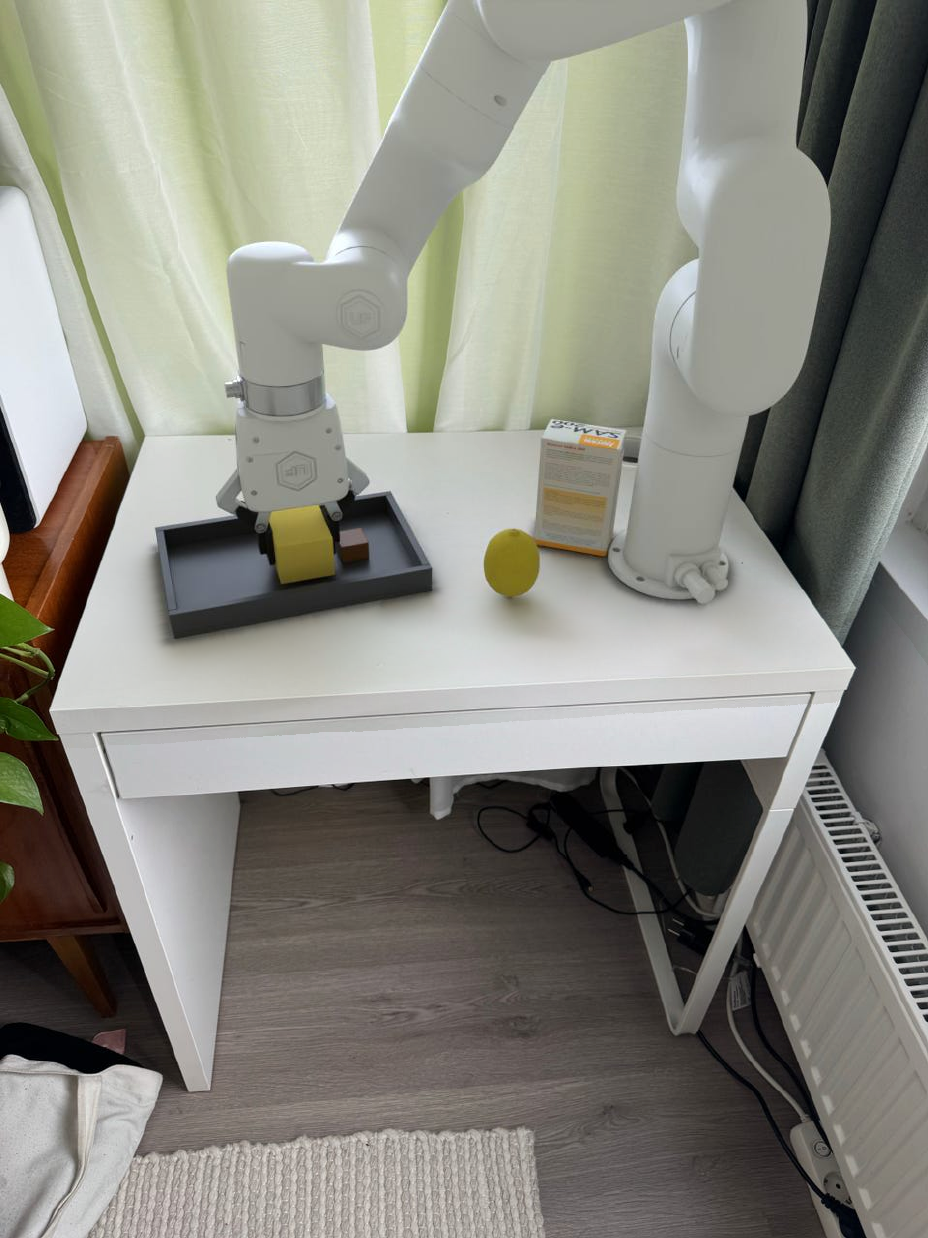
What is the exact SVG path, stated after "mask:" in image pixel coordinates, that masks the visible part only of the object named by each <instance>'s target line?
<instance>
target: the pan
mask: <svg viewBox="0 0 928 1238" xmlns="http://www.w3.org/2000/svg"><path fill="white" fill-rule="evenodd" d="M319 507H320V510H322V507H324V504H319ZM342 515H343V516H342V518H341V519H340V520H339V529H340V531H346V530H352V529H357V528H361V529H362V530H363V532H364V534H365V536H366V538H367V540H368V542H369V558H366V559H361V560H355V561H350V562H345V563H342V562H341V560H340V557H339V555H338V553H337V551H336V554H334V565H335V575H331V576H325V577H319V578H314V579H308V580H302V581H297V582H291V583H285V584H281V581H280V578H279V575H278V572H277V569H276V566H275V565H270V564H269V561H268V558H267V555H266V554H263V555H260V552H259V548H258V541H257V534H256V531H255V528H253V527H252V526H250V525H248V524H247V523H245V522H243V521H242V520H240V519H239V518H237V516H236V515H234V514H231V515H227V516H220V517H213V518H207V519H201V520H194V521H190V522H189V521H188V522H182V523H174V524H169V525H162V526H156V527H154V531H155V535H156V543H157V549H158V555H159V561H160V567H161V575H162V581H163V588H164V594H165V600H166V607H167V612H168V619H169V622H170V627H171V631H172V635H173V639H179V638H185V637H190V636H196V635H202V634H206V633H212V632H217V631H218V632H219V631H222V630H228V629H229V630H230V629H233V628H238V627H244V626H249V625H250V626H251V625H255V624H260V623H267V622H271V621H275V620H281V619H287V618H292V617H297V616H302V615H307V614H313V613H319V612H323V611H324V612H325V611H329V610H335V609H340V608H345V607H350V606H356V605H362V604H366V603H371V602H373V603H374V602H378V601H383V600H388V599H389V600H390V599H394V598H398V597H399V598H400V597H403V596H410V595H416V594H421V593H427V592H431V591H433V567H432V565H431V563H430V562H429V559H428V558H427V556H426V554H425V552H424V551H423V549H422V547H421V545H420V543H419V541H418V540H417V537H416V535H415V533H414V531H413V529H412V527H410V525H409V523H408V521H407V519H406V517H405V515H404V513H403V512H402V509H401V508H400V506H399V504H398V503H397V500H396V498H395V496H394V495H393V493H392V491H391V490H389V491H382V492H376V493H368V494H363V495H357V496H356V497H355V500H354V501H353V502H352V503H351V504H350V506H349V507H348V508H347V509H346V510H345V511H344V512H343V513H342Z"/></svg>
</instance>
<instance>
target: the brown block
mask: <svg viewBox="0 0 928 1238" xmlns="http://www.w3.org/2000/svg"><path fill="white" fill-rule="evenodd" d="M335 547H336V551H337V553H338V555H339V557H340V560H341V562H342V563H345V562H350V561H355V560H361V559H366V558H369V542H368V540H367V538H366V536H365V534H364V532H363V530H362V529H361V528H357V529H352V530H346V531H340V542H335Z"/></svg>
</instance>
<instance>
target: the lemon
mask: <svg viewBox="0 0 928 1238" xmlns="http://www.w3.org/2000/svg"><path fill="white" fill-rule="evenodd" d="M539 551H540V550H539V548H538V545H536V543H535V541H534V538H533V537H532V536H531V535H530V534H528V533H527V532H526V531H525V530H522V529H518V528H508V529H504V530H501V531H499V532H498V533H496V534H495V535H494V536H493V537H492V538H491V539H490V541H489V542H488V545H487V546H486V550H485V552H484V553H485V554H484V558H483V572H484V576H485V580H486V582H487V584H488V585H489V587H490V588H491V589H492V590H493V591H494V592H496V593H497V594H499V595H500V596H504V597H508V598H514V597H518V596H522V595H524V594H526V593H527V592H528V591H530V590H531V588H532V587H533V586H535V583H536V581H537V579H538V577H539V574H540V567H541V558H540V552H539Z"/></svg>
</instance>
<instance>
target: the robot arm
mask: <svg viewBox="0 0 928 1238" xmlns="http://www.w3.org/2000/svg"><path fill="white" fill-rule="evenodd" d="M680 21H684V25H685V31H686V38H687V83H686V100H685V109H684V111H685V112H684V119H683V120H684V121H683V132H682V142H681V150H680V151H681V153H680V161H679V167H678V175H677V183H676V191H675V192H676V194H675V207H676V211H677V215H678V218H679V221H680V223H681V225H682V226H683V228H684V229H685V231H686V233H687V234H688V236H689V237H690V239H691V240H692V241H693V242H694V244H695V245H696V247H697V248H698V258H695V259H693V260H691V261H688V262H687V263H686V264H684V265H683V266H681V267H680V268H679V269H678V270H676V272H675V273H674V274H672V276H671V277H670V278H669V280H668V281H667V282H666V284H665V286H664V288H663V289H662V291H661V293H660V296H659V297H658V301H657V304H656V308H655V313H654V318H653V328H652V339H651V340H652V342H651V343H652V344H651V361H650V363H651V364H650V377H649V387H648V396H647V402H646V409H645V416H644V420H643V421H644V422H643V427H642V433H641V437H640V444H639V450H638V451H639V452H638V457H637V464H636V471H635V475H634V476H635V477H634V484H633V489H632V495H631V503H630V507H629V508H630V509H629V514H628V522H627V527H626V529H625V530H624V531H622V532H620V533H619V534H617V535H616V536H615V537H614V538H612V540H611V542H610V545H609V549H608V552H607V562H608V566H609V568H610V570H611V571H612V574H613V575H614V576H616V577H617V579H618V580H619V581H621V582H622V583H623V584H625V585H626V586H628V587H629V588H631V589H633V590H635V591H637V592H640V593H642V594H645V595H648V596H650V597H656V598H660V599H667V600H692V599H695V600H696V601H697V603H699V604H701V605H704V604H709V603H710V602H711V601H712V600H713V599H714V598H715V595H716V591H722V590H725V589H726V588H727V587H728V585H729V580H728V579H727V577H728V573H729V570H730V569H729V568H730V564H729V559H728V557H727V555H726V552H725V551H724V550H723V548H721V546H719V545H720V541H721V536H722V532H723V528H724V524H725V520H726V516H727V512H728V507H729V503H730V499H731V495H732V490H733V486H734V482H735V477H736V473H737V471H738V465H739V461H740V456H741V452H742V449H743V444H744V441H745V437H746V434H747V429H748V424H749V418H750V416H754V415H757V414H760V413H762V412H764V411H766V410H768V409H769V408H771V407H772V406H774V405H775V404H777V403H778V402H779V401H780V400H781V399H782V398H783V397H784V396H785V395H786V394H787V393H788V392H789V391H790V390H791V388H792V387H793V385H794V383H795V382H796V380H797V379H798V377H799V374H800V372H801V371H802V368H803V365H804V362H805V360H806V357H807V353H808V349H809V344H810V340H811V336H812V330H813V325H814V321H815V316H816V311H817V307H818V306H817V305H818V300H819V295H820V291H821V290H820V289H821V285H822V279H823V275H824V270H825V264H826V260H827V255H828V248H829V243H830V242H829V241H830V235H831V227H832V225H831V223H832V213H831V202H830V194H829V190H828V186H827V184H826V181H825V178H824V176H823V175H822V172H821V171H820V169H819V168H818V167H817V165H816V163H814V161H813V160H812V159H811V158H810V157H808V155H806V154H805V152H803V151H802V150H800V149H799V148H798V146H797V131H798V119H799V112H800V105H801V104H800V103H801V97H802V89H803V87H802V86H803V78H804V77H803V76H804V68H805V61H806V60H805V58H806V50H807V41H808V40H807V39H808V2H807V0H447V2H446V4H445V6H444V8H443V11H442V12H441V15H440V16H439V18H438V21H437V22H436V25H435V27H434V29H433V31H432V33H431V35H430V37H429V40H428V41H427V43H426V45H425V47H424V50H423V52H422V54H421V55H420V58H419V60H418V62H417V64H416V66H415V68H414V70H413V72H412V74H411V76H410V78H409V79H408V82H407V83H406V86H405V87H404V89H403V92H402V94H401V96H400V98H399V100H398V101H397V104H396V106H395V109H394V110H393V112H392V114H391V116H390V119H389V120H388V124H387V126H386V129H385V131H384V134H383V137H382V139H381V141H380V143H379V145H378V147H377V149H376V151H375V153H374V155H373V157H372V159H371V161H370V163H369V165H368V167H367V169H366V171H365V173H364V175H363V177H362V179H361V181H360V183H359V185H358V187H357V189H356V191H355V192H354V195H353V197H352V199H351V201H350V203H349V206H348V208H347V210H346V211H345V213H344V216H343V218H342V219H341V221H340V223H339V226H338V228H337V230H336V231H335V234H334V236H333V238H332V240H331V242H330V245H329V248H328V249H327V253H326V256H325V259H324V261H322V262H316V260H315V258H314V257H313V255H312V254H311V253H310V251H308V250H307V249H306V248H304V247H302V246H300V245H298V244H294V243H289V242H286V241H285V242H284V241H261V242H260V241H259V242H254V243H250V244H247V245H243V246H241V247H238V248H237V249H235V251H233V252H232V253H231V254H230V256H229V257H228V260H227V262H226V281H227V288H228V296H229V304H230V311H231V319H232V325H233V327H232V328H233V333H234V342H235V350H236V357H237V364H238V369H237V372H238V373H237V374H238V375H237V376H236V379H233V380H232V381H229V382H224V386H223V387H224V393H225V397H226V398H227V399H231V398H235V399H239V400H238V402H237V404H236V411H235V427H234V428H235V429H234V430H235V431H234V432H235V433H234V434H235V435H234V436H235V437H234V438H235V453H236V455H235V456H236V457H235V458H236V467H237V468H236V469H235V470H234V471H233V473H232V474H231V476H230V477H229V478H228V479H227V481H226V482H225V483H224V484H223V486H222V487H221V489H220V490H219V491H218V492H217V494H216V495H215V501H216V504H217V507H218V508H220V510H221V509H222V510H223V511H225V512H227V513H229V514H230V515H236V516H237V518H239V519H240V520H242V521H243V522H245V523H247V524H248V525H250V526H252V527H253V528H255V531H256V534H257V541H258V548H259V552H260V555H263V554H266V555H267V558H268V561H269V564H270V565H275V563H276V559H275V551H274V543H273V535H272V534H273V531H272V528H271V525H270V522H269V519H270V515H271V512H273V511H280V510H287V509H293V508H300V507H306V506H313V505H319V504H324V507H322V510H321V513H322V515H323V517H324V520H325V522H326V525H327V526H328V529H329V531H330V533H331V536H332V538H333V551H334V554H336V547H335V542H340V529H339V520H340V519H341V518H342V516H343V515H342V513H343V512H344V511H345V510H346V509H347V508H348V507H349V506H350V504H351V503H352V502H353V501H354V500H355V497H356V496H360V494H361V493H362V492H363V491H365V489H366V488H367V487H368V486H369V485H370V483H371V480H370V479H369V477H368V475H367V473H366V472H365V471H363V470H362V469H361V468H360V467H359V466H358V465H356V464H355V463H354V462H353V461H352V460H350V459H349V458H348V457H347V455H346V447H345V442H344V441H345V440H344V435H343V429H342V423H341V419H340V415H339V410H338V407H337V403H336V401H335V399H334V397H332V395H331V394H330V393H328V392H327V391H326V380H325V379H326V378H325V363H324V351H323V350H324V348H323V345H325V346H329V347H334V348H339V349H345V350H351V351H361V352H363V351H365V352H367V351H375V350H378V349H381V348H384V347H386V346H389V345H390V344H391V343H392V342H394V341H395V340H396V339H397V338H398V337H399V335H400V334H401V332H402V331H403V329H404V327H405V324H406V320H407V317H408V316H407V315H408V299H409V298H408V293H409V292H408V291H409V290H408V280H409V277H410V274H411V272H412V271H413V268H414V266H415V264H416V263H417V260H418V259H419V257H420V255H421V253H422V251H423V250H424V248H425V245H426V243H427V242H428V240H429V238H430V236H431V235H432V233H433V231H434V230H435V228H436V226H437V225H438V222H439V221H440V219H441V218H442V216H443V214H444V213H445V212H446V210H447V208H448V207H449V206H450V205H451V204H452V202H454V199H456V197H458V195H459V194H460V193H461V192H462V191H464V190H465V189H466V188H468V187H469V186H471V185H472V184H475V183H476V182H478V181H480V179H482V178H483V177H484V176H485V175H486V174H487V173H488V172H489V170H491V168H492V167H493V165H494V164H495V162H496V161H497V160H498V158H499V156H500V154H501V152H502V150H503V148H504V147H505V144H506V143H507V141H508V139H509V137H510V136H511V134H512V132H513V130H514V129H515V126H516V125H517V122H518V120H519V119H520V117H521V115H522V113H523V111H524V110H525V108H526V106H527V105H528V103H529V101H530V99H531V97H532V96H533V94H534V92H535V90H536V89H537V87H538V85H539V83H540V81H541V80H542V77H543V76H544V75H545V74H546V72H547V70H548V68H549V67H550V65H551V64H552V62H555V61H559V60H564V59H567V58H571V57H575V56H579V55H582V54H586V53H588V52H591V51H592V52H593V51H595V50H598V49H599V50H600V49H602V48H605V47H608V46H611V45H615V44H618V43H621V42H623V41H626V40H628V39H631V38H634V37H637V36H640V35H643V34H646V33H648V32H651V31H655V30H657V29H660V28H663V27H666V26H668V25H671V24H675V23H677V22H680ZM240 493H241V495H242V498H243V500H240V499H238V498H237V497H238V496H239V495H240Z"/></svg>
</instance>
